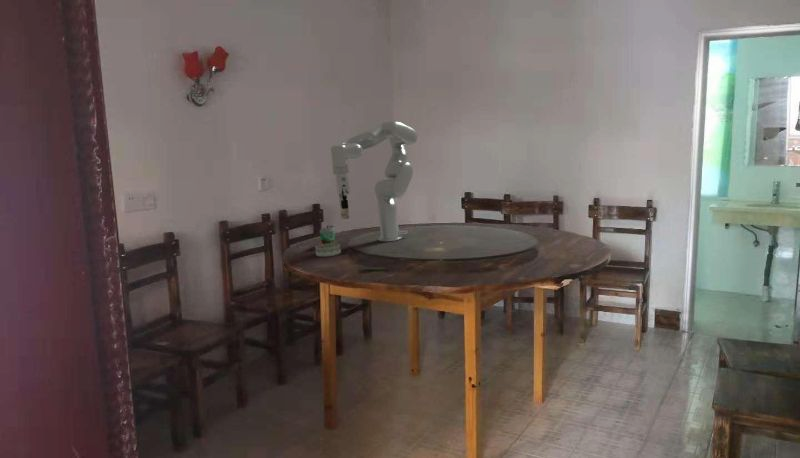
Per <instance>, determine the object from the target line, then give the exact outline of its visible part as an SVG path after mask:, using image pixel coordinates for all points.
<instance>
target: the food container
mask: <svg viewBox="0 0 800 458" xmlns="http://www.w3.org/2000/svg"><path fill="white" fill-rule="evenodd" d="M335 232H336V228H335V226H334V225H329V224H328V225H326V227H325V228H321V229H319V234H320V240H321V245H322V244H328V243H336V242H335V241H336V240H335Z"/></svg>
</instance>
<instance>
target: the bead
mask: <svg viewBox="0 0 800 458" xmlns="http://www.w3.org/2000/svg"><path fill="white" fill-rule="evenodd" d="M341 247H342V246H341V243H337V242H335V243H328V244H322V243H321V244H318V245H316V246H315V247H314V248H315V255H316V256H317V257H332V256H336V255H340V254H341V253H342V248H341Z"/></svg>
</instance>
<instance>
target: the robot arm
mask: <svg viewBox="0 0 800 458" xmlns="http://www.w3.org/2000/svg"><path fill="white" fill-rule="evenodd" d="M387 139H388V140H389V145H390V146H391V150H392V151H391V155H390V158H389V160H388V162H387V164H386V166H385V169H384V176H385V179H381V180H378V181H377V182H376V183H375V184H374V193H375V194H374V195H375V198H376V202H377V207H378V217H379V218H378V219H379V228H380V236H379V237H378V238H377V239H378V241H379V242H394V241H395V242H396V241H400V240H402V239H403V235H408V234H409V231H408V229H407V230H400V229H399V220H398V209H397V208H398V207H397V203H396V201H395V199H400V198H402V197H404V195H405V194H406V192H407V190H408V187H409V185H410V182H411V181H412V178H413V176H414V168H413V165H412V164H411V163H410V162H408V161H407V159H408V152H407V148H406V146H411V145H414V144H415V143H416V142H417V140H418V133H417V131H416V130H415V129H414V128H413V127H411V126H409V125H406V124H405V123H402V122H400V121H397V120H390V121H389V120H387V121H381V122H380V123H378V124H376V125H375V126H373V127H371V128H370V129H368V130H366V131H364V132H362V133H360V134H357V135H356V136H353V137H350V138H348V139H346V140H345V141H343V142H342V143H340V144H338V145H337V144H335V145H332V146H331V147H330V154H331V155H330V156H331V163H332V174H333V175H335V186H336V193H337V194H338V195H339V194H341V200H342V201H341V206H342V209H346V208H348V209H349V200H347V199H348V194H350V193H351V190H350V183H349V176H348V174H349V172H350V171H349V161H348V160H354V159H358V158H360V157H361V156H362V154H363V151H364V150H366V149H367V150H368V149H371V148H374V147H375V146H376V147H377V145H378V144H380V143H383V142H384V141H385V140H387ZM346 190H347V192H346ZM342 193H343V194H342ZM342 195H343V196H342ZM339 203H340V201H339Z"/></svg>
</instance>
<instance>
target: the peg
mask: <svg viewBox="0 0 800 458" xmlns="http://www.w3.org/2000/svg"><path fill="white" fill-rule="evenodd" d="M346 192H347V190H346ZM342 194H343V193H342ZM342 196H343V195H342ZM338 199H339V201H340V202H339V209H340V219H341V220H347V219H350V211H349V207H348V208H346V209H342V206H341V201H342V200H341V194H339V193H338ZM347 200H348V198H347ZM348 201H349V200H348Z"/></svg>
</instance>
